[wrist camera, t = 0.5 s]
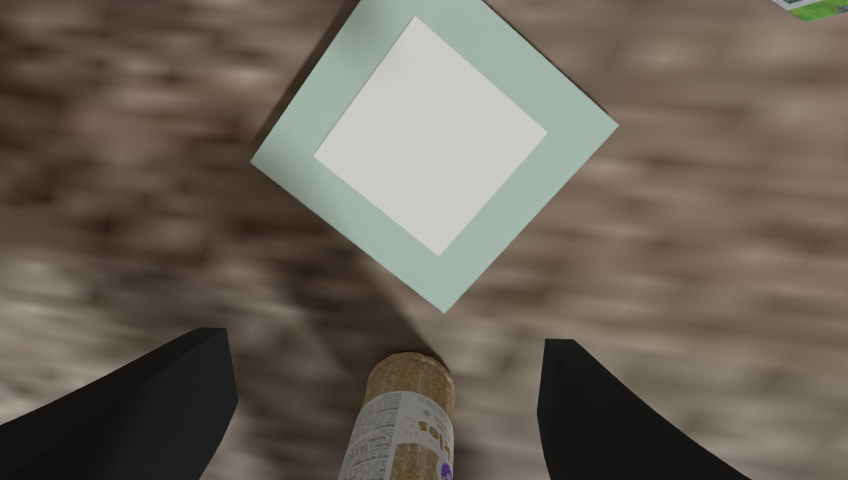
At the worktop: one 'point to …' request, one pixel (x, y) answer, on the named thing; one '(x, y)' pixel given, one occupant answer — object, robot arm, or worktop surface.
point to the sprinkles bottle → (404, 423)
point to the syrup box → (813, 8)
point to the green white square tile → (431, 139)
